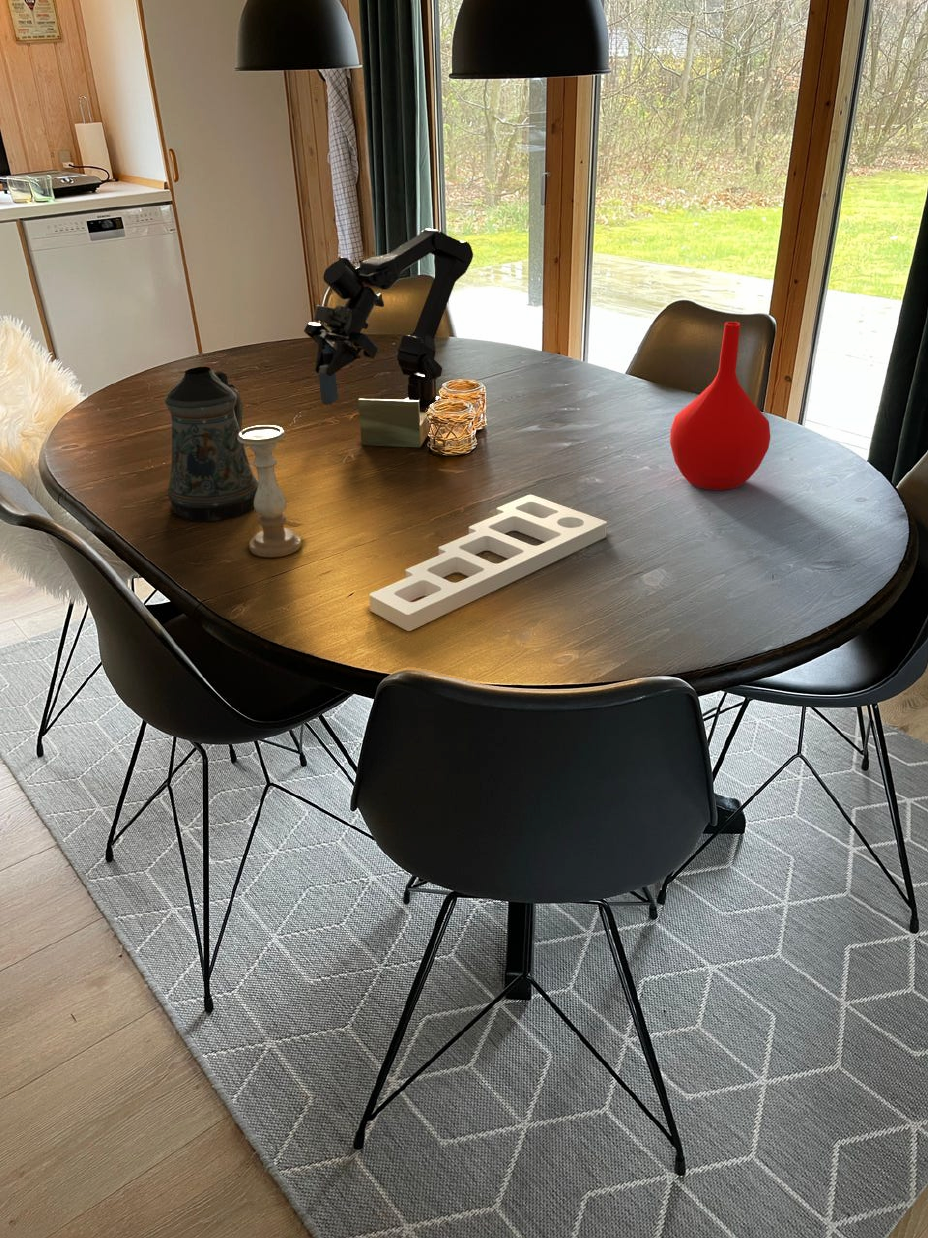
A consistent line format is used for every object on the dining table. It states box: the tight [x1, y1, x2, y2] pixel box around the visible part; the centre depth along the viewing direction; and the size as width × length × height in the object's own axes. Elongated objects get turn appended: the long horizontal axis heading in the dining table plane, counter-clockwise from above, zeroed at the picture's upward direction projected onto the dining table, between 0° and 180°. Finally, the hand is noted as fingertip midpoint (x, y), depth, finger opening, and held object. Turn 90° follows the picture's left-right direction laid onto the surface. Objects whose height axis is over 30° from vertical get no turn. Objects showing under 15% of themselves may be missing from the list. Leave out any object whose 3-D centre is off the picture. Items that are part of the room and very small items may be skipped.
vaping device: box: [318, 345, 339, 405], centre depth 210 cm, size 3×5×12 cm, turn 161°
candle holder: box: [237, 424, 302, 558], centre depth 158 cm, size 9×9×20 cm
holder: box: [368, 494, 608, 632], centre depth 156 cm, size 45×18×3 cm, turn 134°
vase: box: [669, 321, 771, 491], centre depth 178 cm, size 18×18×30 cm
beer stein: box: [164, 366, 258, 522], centre depth 175 cm, size 16×19×25 cm
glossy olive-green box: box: [357, 398, 430, 448], centre depth 208 cm, size 10×13×10 cm
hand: (322, 373), depth 209 cm, fingers closed on vaping device, 3 cm apart
